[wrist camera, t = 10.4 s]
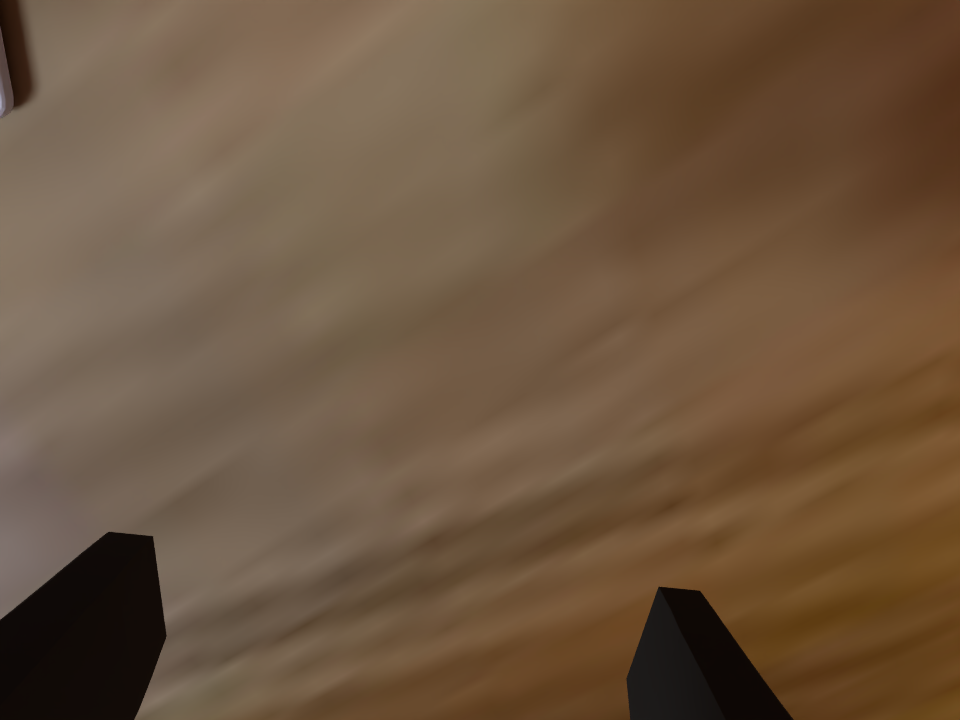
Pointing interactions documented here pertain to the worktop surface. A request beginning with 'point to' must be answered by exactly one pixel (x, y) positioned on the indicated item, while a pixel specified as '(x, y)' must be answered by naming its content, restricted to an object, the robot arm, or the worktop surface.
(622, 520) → the worktop surface
